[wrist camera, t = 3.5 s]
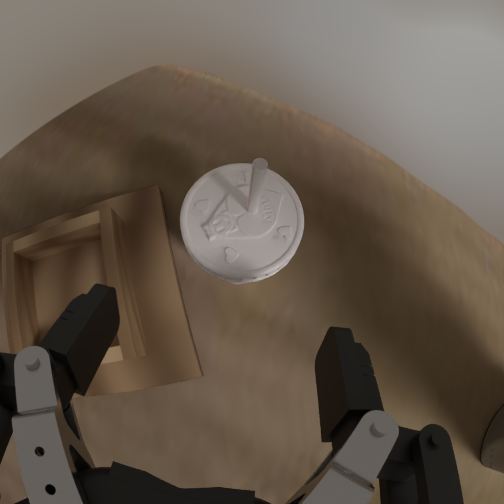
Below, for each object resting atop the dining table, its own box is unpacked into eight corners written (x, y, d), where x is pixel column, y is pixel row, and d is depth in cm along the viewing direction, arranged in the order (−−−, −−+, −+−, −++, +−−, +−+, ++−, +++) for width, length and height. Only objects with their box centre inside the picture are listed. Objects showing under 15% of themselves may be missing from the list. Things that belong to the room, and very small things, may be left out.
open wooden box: (160, 190, 25) (149, 166, 21) (203, 374, 21) (197, 383, 17) (8, 242, 23) (-16, 229, 19) (28, 399, 19) (2, 405, 15)
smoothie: (292, 276, 24) (363, 204, 10) (222, 316, 23) (209, 291, 9) (252, 211, 25) (273, 90, 12) (184, 247, 24) (136, 146, 11)
